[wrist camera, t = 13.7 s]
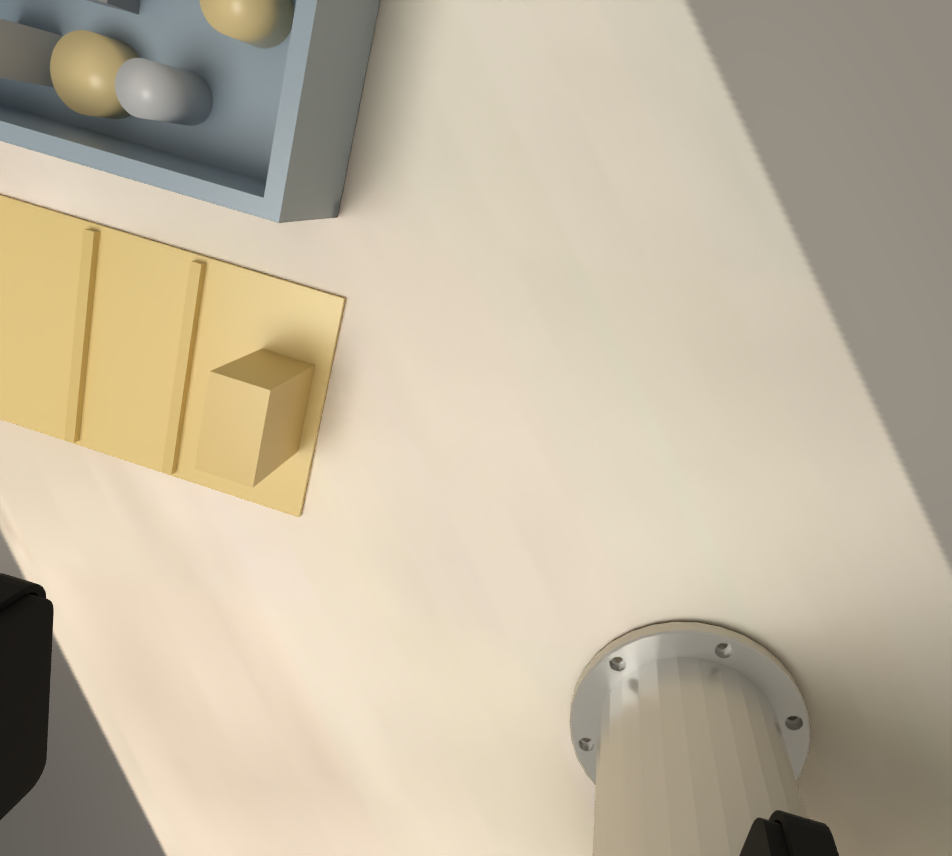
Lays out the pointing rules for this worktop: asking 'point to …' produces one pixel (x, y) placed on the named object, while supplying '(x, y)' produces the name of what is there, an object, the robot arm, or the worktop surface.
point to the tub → (193, 94)
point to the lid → (162, 355)
